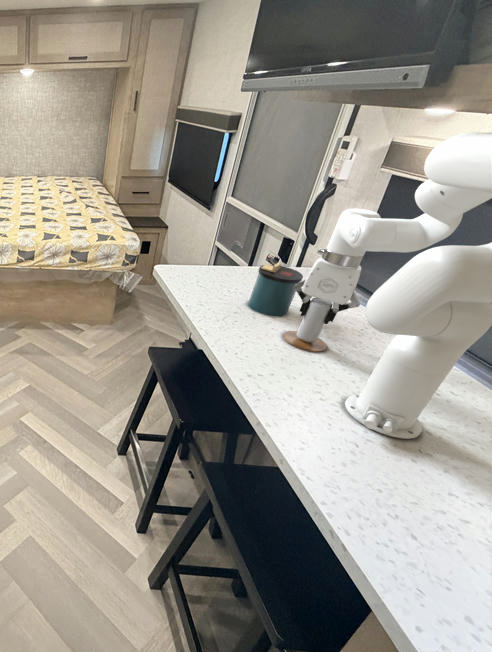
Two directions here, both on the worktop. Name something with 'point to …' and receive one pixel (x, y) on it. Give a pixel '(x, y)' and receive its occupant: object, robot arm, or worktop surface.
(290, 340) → the coaster
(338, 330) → the worktop surface
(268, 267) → the slider
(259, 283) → the teal cylinder tin
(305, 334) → the beverage can
